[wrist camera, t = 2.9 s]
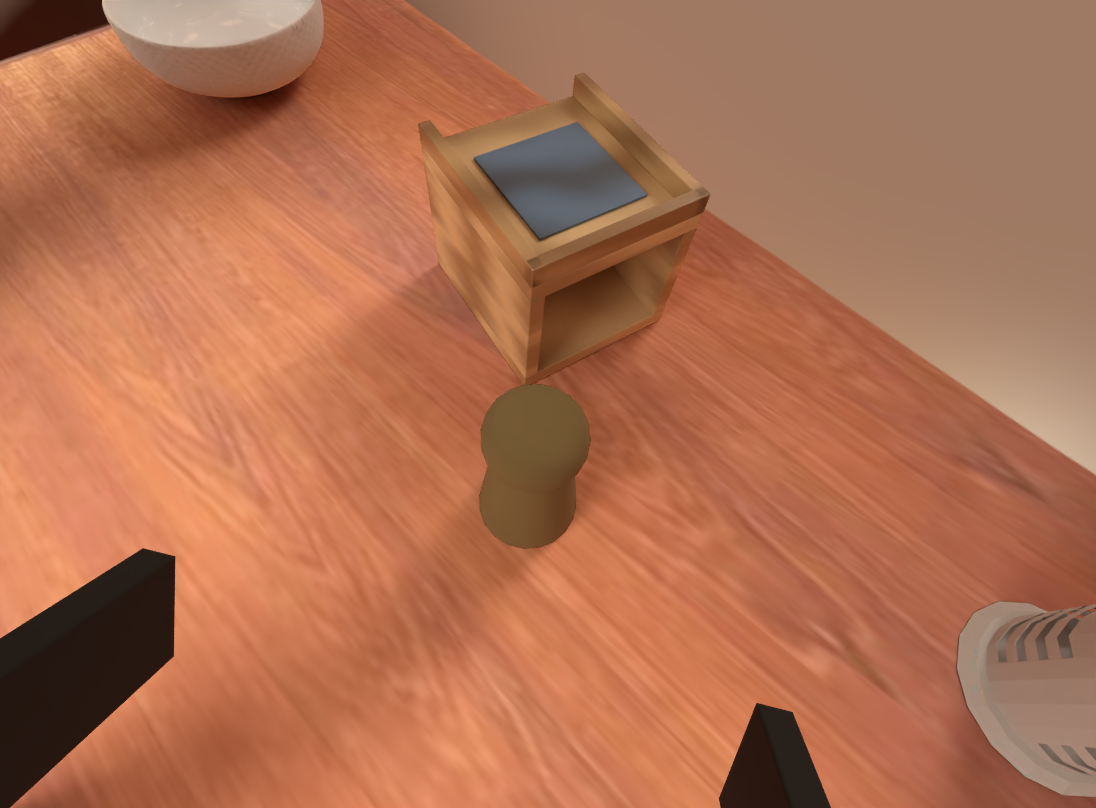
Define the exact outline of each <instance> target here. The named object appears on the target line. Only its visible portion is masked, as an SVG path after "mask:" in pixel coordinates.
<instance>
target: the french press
mask: <svg viewBox="0 0 1096 808" xmlns="http://www.w3.org/2000/svg"><path fill="white" fill-rule="evenodd" d="M1075 609H1081V610H1075ZM1088 609H1096V604H1091V605H1089V606H1082V607H1074V608H1068V609H1066V610H1063V609H1061V610H1055V611H1050V612H1047V611H1045V610H1043V609H1041V608H1038V607H1036V606H1034V605H1032V604H1029V603H1017V602H1001V601H998V602H996V603H994V604H992V605H989V606H987V607H985V608H983V609H981V610H978V611H976V612H974V614H973V615H972V617H971V618H970V620H969V622H968V623H967V625H966V626H965V628H964V629H963V631H962V632H961V634H960V637H959V649H958V661H957V670H958V674H959V678H960V681H961V685H962V688H963V692H964V696H965V699H966V703H967V706H968V708H969V710H970V711H971V713H972V715H973V716H974V718H975V719H976V721H977V723H978V724H979V726H980V728H981V729H982V731H983V732H984V734H985V736H986V737H987V739H988V741H989V742H990V744H991V745H992V746H993V747H994V748H995V749H996V750H997V751H998V752H999V753H1000V754H1001V755H1002V756H1003V757H1005V758H1006V759H1007V760H1008V761H1009V762H1010V763H1011V764H1012V765H1013V766H1014V767H1015V768H1016V769H1017V770H1018V771H1019V772H1020V773H1022V774H1023V775H1024V776H1025V777H1027V778H1029V779H1031V780H1033V781H1035V782H1037V783H1039V784H1041V785H1043V786H1045V787H1047V788H1049V789H1051V790H1053V791H1055V792H1057V793H1059V794H1061V795H1069V796H1088V797H1096V611H1094V612H1090V611H1088ZM1057 612H1060V613H1057ZM1067 612H1075V613H1073V614H1071V615H1069V614H1067ZM1079 614H1081V615H1083V616H1084V617H1082V618H1081V619H1079V618H1076V616H1078V615H1079Z"/></svg>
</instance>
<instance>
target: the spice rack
mask: <svg viewBox="0 0 1096 808" xmlns="http://www.w3.org/2000/svg"><path fill="white" fill-rule="evenodd" d="M418 126H419V133H420V140H421V145H422V152H423V159H424V166H425V173H426V180H427V186H428V193H429V200H430V207H431V213H432V220H433V227H434V234H435V240H436V247H437V252H438V253H437V254H438V261H439V264H440V266H441V267H442V269H443V270H444V271H445V273H446V274H447V276H448V277H449V279H450V280H451V282H452V283H453V284H454V286H455V287H456V289H457V290H458V292H459V293H460V295H461V296H462V298H463V299H464V300H465V302H466V303H467V305H468V306H469V308H470V309H471V311H472V312H473V313H474V315H475V316H476V318H477V319H478V321H479V322H480V324H481V325H482V326H483V328H484V329H485V331H486V332H487V334H488V335H489V337H490V338H491V340H492V341H493V342H494V344H495V345H496V347H497V348H498V350H499V351H500V353H501V354H502V355H503V357H504V358H505V360H506V361H507V363H508V364H509V366H510V367H511V369H512V370H513V371H514V373H515V374H516V376H517V377H518V379H519V380H520V382H521V383H522V384H523V385H531V384H533V383H535V382H537V381H539V380H541V379H543V378H545V377H547V376H549V375H551V374H553V373H555V372H557V371H559V370H561V369H563V368H565V367H567V366H569V365H571V364H573V363H575V362H577V361H579V360H581V359H583V358H584V357H586V356H588V355H590V354H592V353H594V352H596V351H598V350H600V349H602V348H604V347H606V346H608V345H610V344H612V343H614V342H616V341H618V340H620V339H622V338H624V337H626V336H628V335H630V334H632V333H634V332H636V331H638V330H640V329H642V328H644V327H646V326H648V325H650V324H652V323H654V322H656V321H658V320H659V319H660V317H661V314H662V312H663V309H664V307H665V305H666V302H667V300H668V297H669V295H670V292H671V290H672V287H673V285H674V283H675V280H676V278H677V275H678V273H679V270H680V268H681V266H682V263H683V261H684V258H685V256H686V253H687V251H688V248H689V246H690V244H691V241H692V239H693V236H694V234H695V231H696V228H697V226H698V224H699V221H700V219H701V216H702V213H703V212H704V209H705V207H706V204H707V202H708V199H709V197H710V193H709V192H708V191H707V190H706V189H705V188H704V187H703V186H702V185H701V184H699V183H698V182H697V181H696V180H695V179H694V178H693V177H692V176H691V175H690V174H689V173H688V172H687V171H686V170H685V169H684V168H683V167H682V166H681V165H680V164H679V163H678V162H677V161H675V159H674V158H672V157H671V156H670V155H669V154H668V153H667V152H666V151H665V150H664V149H663V148H662V147H661V146H660V145H659V144H658V143H657V142H656V141H655V140H654V139H653V138H652V137H651V136H650V135H649V134H647V132H645V131H644V130H643V129H642V128H641V127H640V126H639V125H638V124H637V123H636V122H635V121H634V120H633V119H632V118H631V117H630V116H629V115H628V114H627V113H626V112H624V110H623V109H622V108H621V107H620V106H618V105H617V104H616V103H615V102H614V101H613V100H612V99H611V98H610V97H609V96H608V95H607V94H606V93H605V92H604V91H603V90H602V89H601V88H600V87H599V86H598V85H597V84H596V83H595V82H593V80H591V79H590V78H589V77H588V76H587V75H586V74H585V73H581V74H578V75H575V79H574V88H573V96H572V97H569V98H566V99H562V100H559V101H556V102H553V103H550V104H547V105H544V106H541V107H538V108H535V109H531V110H528V111H525V112H522V113H519V114H516V115H513V116H510V117H507V118H504V119H501V120H498V121H494V122H491V123H488V124H485V125H482V126H479V127H476V128H473V129H470V130H467V131H464V132H460V133H457V134H454V135H451V136H448V137H445V138H444V137H443V136H442V135H441V134H440V132H439V131H438V130H437V129H436V127H435V126H434V125H433V124H432V122H431V121H426V122H423V123H419V124H418Z"/></svg>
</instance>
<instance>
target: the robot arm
mask: <svg viewBox="0 0 1096 808" xmlns="http://www.w3.org/2000/svg"><path fill="white" fill-rule="evenodd" d="M174 607H175V556H171V555H167V554H163V553H160V552H156V551H152V550H148V549H144V548H143V549H141V550H140V551H138V552H137V553H135V554H133V555H132V556H130V557H129V558H127V559H125V560H124V561H122V562H121V563H119V564H118V565H116V566H114V567H113V568H111V569H110V570H108V571H106V572H105V573H103V574H102V575H100V576H98V577H97V578H95V579H94V580H92V581H91V582H89V583H87V584H86V585H84V586H83V587H81V588H79V589H78V590H76V591H75V592H73V593H72V594H70V595H68V596H67V597H65V598H64V599H62V600H60V601H59V602H57V603H56V604H54V605H53V606H51V607H49V608H48V609H46V610H45V611H43V612H41V613H40V614H38V615H37V616H35V617H33V618H32V619H30V620H29V621H27V622H26V623H24V624H22V625H21V626H19V627H18V628H16V629H14V630H13V631H11V632H10V633H8V634H7V635H5V636H3V637H2V638H0V808H10V807H11V806H12V805H13V804H14V803H15V802H16V801H18V800H19V799H20V798H21V797H22V796H23V795H24V794H25V793H26V792H27V791H28V790H29V789H31V788H32V787H33V786H34V785H35V784H36V783H37V782H38V781H39V780H40V779H41V778H42V777H44V776H45V775H46V774H47V773H48V772H49V771H50V770H51V769H52V768H53V767H54V766H55V765H57V764H58V763H59V762H60V761H61V760H62V759H63V758H64V757H65V756H66V755H67V754H68V753H70V752H71V751H72V750H73V749H74V748H75V747H76V746H77V745H78V744H79V743H80V742H81V741H83V740H84V739H85V738H86V737H87V736H88V735H89V734H90V733H91V732H92V731H93V730H94V729H96V728H97V727H98V726H99V725H100V724H101V723H102V722H103V721H104V720H105V719H106V718H107V717H109V716H110V715H111V714H112V713H113V712H114V711H115V710H116V709H117V708H118V707H119V706H120V705H122V704H123V703H124V702H125V701H126V700H127V699H128V698H129V697H130V696H131V695H132V694H133V693H135V692H136V691H137V690H138V689H139V688H140V687H141V686H142V685H143V684H144V683H145V682H146V681H147V680H149V679H150V678H151V677H152V676H153V675H154V674H155V673H156V672H157V671H158V670H159V669H160V668H162V667H163V666H164V665H165V664H166V663H167V662H168V661H169V660H170V659H171V658H172V657H173V656H174ZM719 801H720V806H721V808H831V807H830V804H829V802H828V799H827V797H826V794H825V792H824V789H823V787H822V784H821V782H820V779H819V777H818V774H817V772H816V769H815V767H814V764H813V762H812V759H811V757H810V754H809V752H808V750H807V747H806V745H805V742H804V740H803V737H802V735H801V732H800V730H799V727H798V725H797V722H796V720H795V717H794V715H793V712H790V711H786V710H782V709H778V708H774V707H770V706H766V705H762V704H758V703H756V706H755V708H754V711H753V714H752V716H751V719H750V721H749V724H748V726H747V729H746V731H745V734H744V736H743V739H742V741H741V744H740V747H739V749H738V752H737V754H736V757H735V759H734V762H733V764H732V767H731V769H730V772H729V774H728V777H727V779H726V782H725V785H724V787H723V790H722V792H721V795H720V797H719Z"/></svg>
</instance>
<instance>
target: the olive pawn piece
mask: <svg viewBox="0 0 1096 808" xmlns="http://www.w3.org/2000/svg"><path fill="white" fill-rule="evenodd" d="M590 441H591V439H590V431H589V424H588V420H587V418H586V416H585V414H584V412H583V410H582V408H581V407H580V406H579V404H578V403H577V402H576V401H575V400H574V399H573V398H572V397H571V396H570V395H568V394H566V393H564V392H562V391H561V390H559V389H557V388H554V387H550V386H546V385H542V384H536V385H523V386H520V387H517V388H514V389H511V390H509V391H507V392H506V393H504V394H503V395H501V396H500V397H499V398H497V399H496V401H495V402H494V403H493V404H492V406H491V407H490V408H489V410H488V411H487V413H486V415H485V418H484V421H483V424H482V427H481V449H482V453H483V455H484V458H485V460H486V463H487V465H488V467H487V471H486V474H485V478H484V481H483V485H482V488H481V492H480V495H479V496H480V512H481V515H482V517H483V520H484V523H485V525H486V526H487V527H488V529H489V530H490V531H491V532H492V533H493V535H494V536H495V537H497V538H498V539H500V540H501V541H503V542H505V543H506V544H508V545H511V546H515V547H519V548H523V549H524V548H539V547H542V546H544V545H547V544H549V543H551V542H554V541H555V540H556V539H557V538H558V537H560V536H561V535H562V534H563V533H564V532H565V531H566V530H567V528H568V526H569V525H570V523H571V521H572V520H573V516H574V512H575V507H576V490H575V476H576V475H577V474H578V472H579V470H580V469H581V467H582V466H583V464H584V462H585V461H586V458H587V455H588V451H589V446H590Z"/></svg>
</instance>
